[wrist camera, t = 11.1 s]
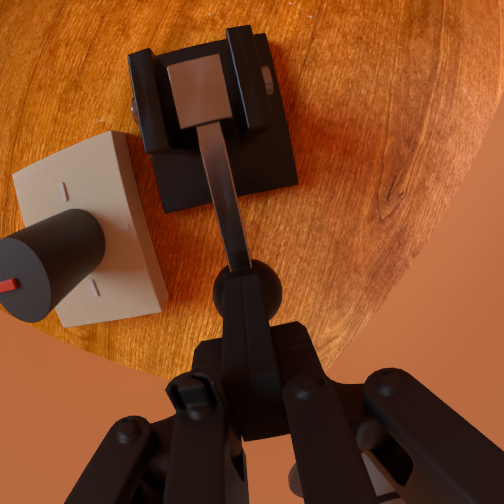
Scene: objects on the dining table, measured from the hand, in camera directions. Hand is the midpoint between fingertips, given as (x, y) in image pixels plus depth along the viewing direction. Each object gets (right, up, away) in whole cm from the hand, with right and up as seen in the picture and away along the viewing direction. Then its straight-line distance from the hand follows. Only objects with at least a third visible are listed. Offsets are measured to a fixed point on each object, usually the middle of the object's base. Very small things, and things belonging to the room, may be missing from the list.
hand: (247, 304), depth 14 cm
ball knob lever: (-1, +5, +2) cm, 6 cm away
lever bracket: (-3, +12, +7) cm, 15 cm away
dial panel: (-13, +4, +9) cm, 17 cm away
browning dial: (-13, +3, +6) cm, 15 cm away
